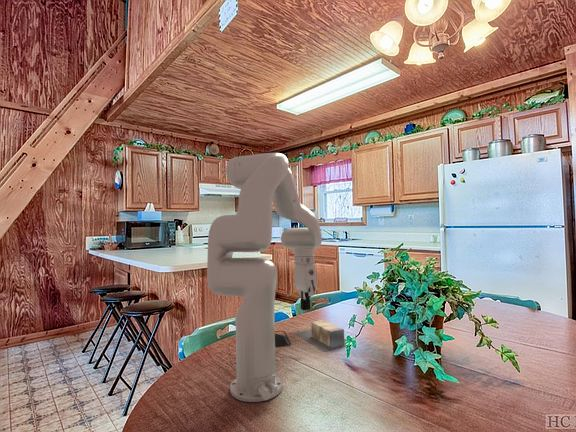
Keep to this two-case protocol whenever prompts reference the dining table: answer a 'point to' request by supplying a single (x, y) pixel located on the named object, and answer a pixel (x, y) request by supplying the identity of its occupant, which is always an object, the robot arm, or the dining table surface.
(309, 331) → the rubber mat
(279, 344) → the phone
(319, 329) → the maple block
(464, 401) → the dining table surface
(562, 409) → the dining table surface
